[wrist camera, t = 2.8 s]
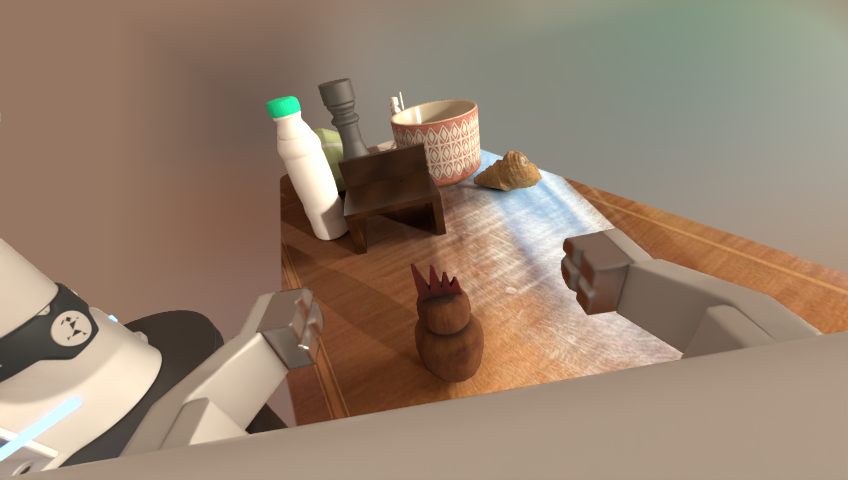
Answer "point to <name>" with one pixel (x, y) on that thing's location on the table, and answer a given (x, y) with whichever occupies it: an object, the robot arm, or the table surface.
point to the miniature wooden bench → (388, 188)
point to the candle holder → (344, 116)
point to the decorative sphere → (332, 154)
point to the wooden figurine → (446, 328)
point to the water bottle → (308, 169)
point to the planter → (442, 137)
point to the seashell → (509, 173)
